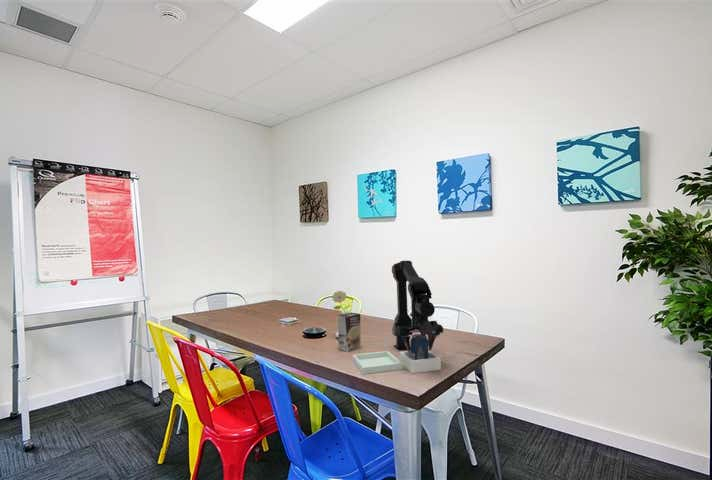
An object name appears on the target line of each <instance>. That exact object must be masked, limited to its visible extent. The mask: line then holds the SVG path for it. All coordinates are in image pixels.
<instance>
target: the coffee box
mask: <svg viewBox="0 0 712 480" xmlns="http://www.w3.org/2000/svg"><path fill="white" fill-rule="evenodd" d="M337 322H338V323H337V326H338V327H337V328H338V330H337V331H338V337H337V340H338V341H337V342H338V344H337V345H338V348H337V349H338V350H341V351H343V352H350V351H354V350H357V349H360V348H362V343H361V341H362V340H361V339H362V338H361V334H362V333H361V329H362V328H361V314H360V313H356V312H350V313H348V314H342V313H341V314H338V316H337Z"/></svg>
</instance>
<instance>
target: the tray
mask: <svg viewBox="0 0 712 480" xmlns="http://www.w3.org/2000/svg"><path fill="white" fill-rule="evenodd" d="M352 362H353V363H354V365H355V366H356V367H357V369H359V371H360V373H362V374H363V375H368V374H375V373H381V372H382V373H384V372H392V371H400V370H403V365H402V363H401V362H400V359H398V358H397V357H396V356H395V355H393V354H392V353H391V352H390V351H389V350H386V351H376V352H366V353H358V354H352Z"/></svg>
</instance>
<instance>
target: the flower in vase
mask: <svg viewBox="0 0 712 480" xmlns="http://www.w3.org/2000/svg"><path fill="white" fill-rule="evenodd" d="M331 298H332V301H333V302H334V303H338V304H340V305H336V306H334V307H333V310H340V309H342V311H340V313H341V315H342V314H348V313H351V310H347V309H349V308H350V306H351V304H349V305H346V306H345V307H343V306H342V303H343V302H345V301H346V299H347V294H346V292H345V291H343V290H337V291H336V292H334V293H333V294H332V296H331ZM335 337H336V338H338V330H337V331H336V333H335Z"/></svg>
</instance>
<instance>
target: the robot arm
mask: <svg viewBox="0 0 712 480" xmlns="http://www.w3.org/2000/svg"><path fill="white" fill-rule="evenodd" d="M391 274H392V277H393V279H394V281H395V282H396V296H397V298H396V300H397V301H396V303H397V304H396V305H397V314H396V316H395V317H394V322H393V324H392V325H393V326H392V328H391V331H392V332H391V333H392V335H393V336H394V337H395V341H396V342H395V343H396V344H394V345H393V347H394V348H396V349H397V350H399V351H400V350H401V351H402V350H407V351H408V352H410V351H411V336H413V333H420V334H421V335H425V336H427V339H428V350H429V351H431V350H432V349H433V346H434V343H435V340H436V338H437V337H438V336H440V335H441V334H442V333H444V327H443V325H442V324H439V323H438V322H437V320H429V318H430V317H432V316H433V315H434V313H435V310H436V308H435V306H434V304H433V303H432V302H431V301H430V299H432V295H433V293H432V291H431V289H430V286H429V284H428V283H427V281H426V279H425V278H423V277H421V276H419V275H418V273H417V271H416V270H415V268H414V265H413V262H412V260H401V261H399V262H397V263H396V262H395V263H393V265H392V266H391ZM407 283H408V285H407ZM408 295H409V297H410V299H411V300H410V301H411V303H410V304H411V306H410V308H411V313H410V315H409V313H408Z"/></svg>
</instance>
